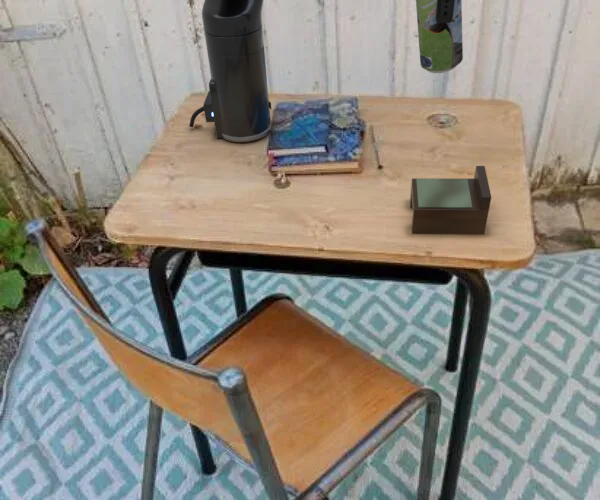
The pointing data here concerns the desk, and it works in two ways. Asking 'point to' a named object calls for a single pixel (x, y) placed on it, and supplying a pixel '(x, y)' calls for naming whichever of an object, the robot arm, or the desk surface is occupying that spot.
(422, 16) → the beverage can
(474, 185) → the miniature bed
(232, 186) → the desk surface
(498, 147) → the desk surface
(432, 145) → the desk surface
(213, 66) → the robot arm
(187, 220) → the desk surface
